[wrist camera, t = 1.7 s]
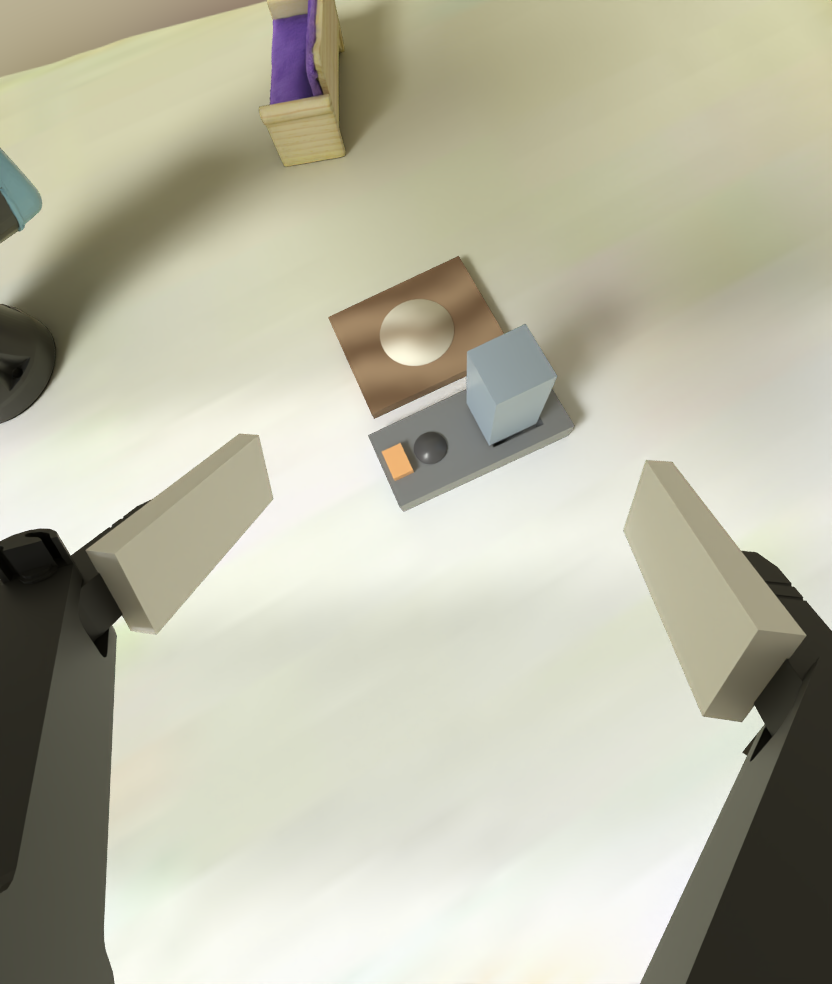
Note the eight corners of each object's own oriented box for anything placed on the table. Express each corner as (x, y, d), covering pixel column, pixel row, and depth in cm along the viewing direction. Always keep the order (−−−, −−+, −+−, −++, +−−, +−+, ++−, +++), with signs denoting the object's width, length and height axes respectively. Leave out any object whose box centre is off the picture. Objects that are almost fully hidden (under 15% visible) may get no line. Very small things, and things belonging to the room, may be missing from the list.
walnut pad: (331, 323, 47) (327, 316, 45) (458, 264, 46) (458, 255, 45) (374, 418, 43) (371, 413, 42) (511, 355, 43) (512, 347, 42)
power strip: (404, 512, 41) (398, 505, 38) (374, 445, 43) (366, 432, 40) (567, 437, 41) (576, 422, 37) (529, 373, 43) (534, 353, 39)
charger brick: (466, 414, 42) (466, 351, 30) (509, 394, 42) (525, 323, 30) (487, 454, 41) (496, 404, 29) (531, 433, 40) (557, 376, 29)
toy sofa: (286, 56, 58) (249, -53, 48) (346, 44, 57) (321, -70, 47) (282, 173, 53) (240, 78, 43) (347, 162, 52) (319, 62, 42)
